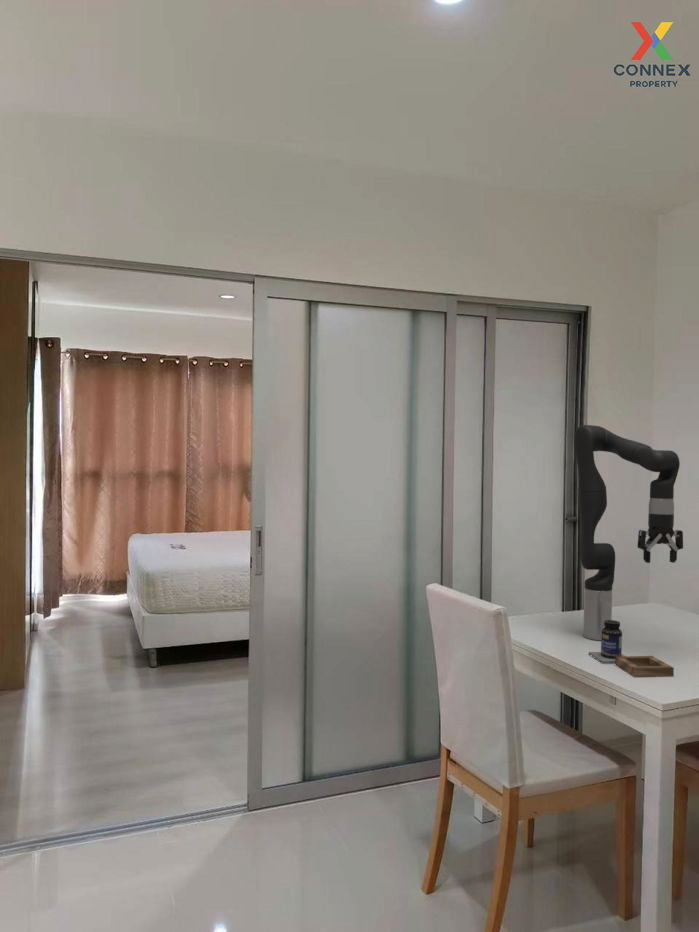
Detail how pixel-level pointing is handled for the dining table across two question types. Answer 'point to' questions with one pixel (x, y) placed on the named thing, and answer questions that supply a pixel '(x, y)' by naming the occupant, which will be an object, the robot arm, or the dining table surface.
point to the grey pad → (601, 658)
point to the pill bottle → (611, 639)
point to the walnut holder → (644, 666)
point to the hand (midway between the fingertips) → (659, 562)
